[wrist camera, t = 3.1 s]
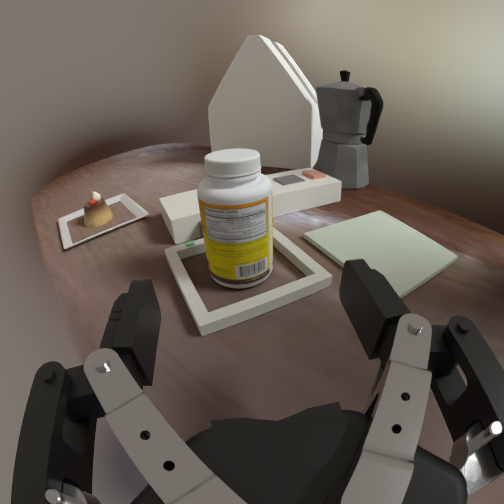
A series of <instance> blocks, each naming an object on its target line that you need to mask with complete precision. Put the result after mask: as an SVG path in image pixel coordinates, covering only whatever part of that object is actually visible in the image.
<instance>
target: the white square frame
mask: <svg viewBox="0 0 504 504" xmlns="http://www.w3.org/2000/svg"><path fill="white" fill-rule="evenodd" d="M273 246H274V247H275V248H276V249H278V250H279V251H280V252H281V253H282V254H283V255H284V256H285V257H286V258H287V259H289V260H290V261H291V262H292V263H293V264H294V265H295V266H296V267H297V268H298V269H299V270H301V271H302V272H303V273H304V274H305V275H306V276H307V277H304V278H302V279H299V280H297V281H294V282H291V283H289V284H286V285H283V286H281V287H278V288H275V289H273V290H270V291H267V292H265V293H262V294H259V295H256V296H254V297H251V298H248V299H245V300H243V301H240V302H237V303H234V304H231V305H228V306H226V307H223V308H220V309H217V310H214V311H211V312H208V311H207V309H206V307H205V306H204V304H203V302H202V300H201V298H200V296H199V294H198V293H197V291H196V289H195V287H194V285H193V283H192V281H191V279H190V277H189V275H188V274H187V272H186V270H185V268H184V266H183V264H182V262H181V259H184V258H187V257H191V256H194V255H197V254H201V253H204V252H206V250H205V243H204V238H202V239H198V240H195V241H193V240H192V241H188V242H185V243H184V244H181V245H177V246H174V247H170V248H167V249H164V252H165V256H166V259H167V262H168V264H169V266H170V269H171V271H172V273H173V275H174V278H175V280H176V282H177V285H178V287H179V289H180V291H181V293H182V296H183V298H184V300H185V302H186V304H187V307H188V309H189V311H190V313H191V315H192V317H193V319H194V321H195V323H196V326H197V328H198V330H199V332H200V334H201V336H205V335H207V334H210V333H213V332H216V331H219V330H221V329H224V328H227V327H230V326H232V325H235V324H238V323H240V322H243V321H246V320H248V319H251V318H253V317H256V316H259V315H261V314H264V313H266V312H269V311H271V310H274V309H276V308H279V307H281V306H284V305H286V304H289V303H291V302H294V301H296V300H298V299H301V298H303V297H306V296H308V295H310V294H313V293H315V292H317V291H320V290H322V289H324V288H327V287H329V286H331V283H332V275H331V274H330V273H329V272H327V271H326V270H325V269H324V268H323V267H321V266H320V265H319V264H318V263H317V262H315V261H314V260H313V259H312V258H311V257H309V256H308V255H307V254H306V253H305V252H303V251H302V250H301V249H300V248H298V247H297V246H296V245H295V244H294V243H292V242H291V241H290V240H289V239H287V238H286V237H285V236H284V235H282V234H281V233H280V232H279V231H278V230H276V229H275V228H274V227H273Z"/></svg>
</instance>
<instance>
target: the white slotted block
mask: <svg viewBox="0 0 504 504" xmlns="http://www.w3.org/2000/svg"><path fill="white" fill-rule="evenodd" d="M208 115H209V128H210V140H211V152H215V151H219V150H225V149H237V148H240V149H251V150H255V151H258V152H259V154H260V165H261V166H265V167H278V168H290V169H304V168H312V167H313V166H314V164H315V163H316V161H317V159H318V155H319V150H320V144H321V140H322V131H323V129H322V128H321V123H320V116H319V109H318V102H317V95H316V92H315V90H314V89H313V87H312V86H311V84H310V83H309V81H308V80H307V78H306V77H305V76H304V74H303V73H302V71H301V70H300V68H299V67H298V66H297V65H296V63H295V62H294V60H293V59H292V58H291V56H290V55H289V54H288V52H287V51H286V50H285V48H284V47H283V46H282V45H281V44H278V43H276V42H271V41H270V40H269V39H268V38H265V37H263V36H261V35H248V36H247V38H246V39H245V41H244V43H243V44H242V46H241V48H240V50H239V51H238V53H237V55H236V56H235V58H234V60H233V62H232V63H231V65H230V67H229V69H228V71H227V72H226V74H225V76H224V78H223V80H222V81H221V83H220V85H219V87H218V89H217V91H216V93H215V95H214V97H213V99H212V101H211V103H210V105H209V106H208Z"/></svg>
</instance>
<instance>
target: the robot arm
mask: <svg viewBox="0 0 504 504" xmlns="http://www.w3.org/2000/svg"><path fill="white" fill-rule="evenodd" d="M340 300H341V303H342V305H343V307H344V309H345V311H346V313H347V315H348V317H349V319H350V321H351V323H352V325H353V327H354V329H355V331H356V333H357V335H358V337H359V339H360V341H361V343H362V345H363V348H364V350H365V352H366V354H367V356H368V358H369V360H371V359H375V358H379V359H380V361H381V363H380V365H379V368H378V371H377V374H376V377H375V380H374V383H373V386H372V389H371V392H370V395H369V397H368V400H367V403H366V405H365V407H364V409H363V411H362V413H360V412H356V411H351V410H341V407H340V404H339V402H336V403H332V404H328V405H323V406H318V407H313V408H309V409H306V410H304V411H302V412H299V413H297V414H295V415H292V416H290V417H287V418H285V419H282V420H279V421H270V420H259V419H250V418H236V419H224V420H212V428H211V429H207V430H205V431H202V432H200V433H198V434H196V435H194V436H193V437H191V438H190V439H188V440H187V441H186V442H184V441H183V440H182V439H181V438H180V437H179V435H178V434H177V433H176V432H175V431H174V430H173V428H172V427H171V426H170V425H169V424H168V422H167V421H166V420H165V419H164V417H163V416H162V415H161V414H160V412H159V411H158V410H157V408H156V407H155V406H154V405H153V403H152V402H151V401H150V399H149V398H148V397H147V395H146V394H145V393H144V392H143V391H142V390H143V386H152V382H153V373H154V365H155V358H156V350H157V343H158V336H159V330H160V323H161V312H160V307H159V304H158V301H157V297H156V294H155V291H154V287H153V284H152V281H151V280H150V279H144V280H133V281H132V282H131V285H130V288H129V291H128V293H122V294H121V295H120V296H119V297H118V299H117V300H116V301H115V302H114V305H113V308H112V311H111V313H110V316H109V321H108V322H107V326H106V329H105V332H104V335H103V338H102V341H101V345H100V348H99V349H98V350H96V351H94V352H92V353H91V354H90V355H89V356H88V357H87V359H86V360H85V363H84V365H81V366H77V367H73V368H69V369H64V367H63V366H62V365H61V364H60V363H58V362H55V361H52V362H48V363H45V364H44V365H42V366H41V367H40V368H39V369H38V371H37V373H36V375H35V378H34V381H33V384H32V388H31V391H30V395H29V398H28V402H27V406H26V410H25V414H24V418H23V422H22V427H21V431H20V436H19V441H18V447H17V453H16V460H15V466H14V474H13V483H12V494H11V504H101V503H100V502H99V500H98V499H97V498H96V497H95V496H93V495H92V473H93V471H92V470H93V455H94V442H95V432H96V422H97V418H100V417H106V420H107V422H108V423H109V425H110V427H111V428H112V430H113V432H114V433H115V435H116V437H117V438H118V440H119V441H120V443H121V445H122V446H123V448H124V449H125V451H126V452H127V454H128V455H129V457H130V458H131V460H132V461H133V462H134V464H135V465H136V467H137V468H138V469H139V471H140V472H141V473H142V475H143V476H144V478H145V479H146V480H147V482H148V483H149V484H148V485H147V486H146V487H145V488H144V490H143V491H142V492H141V493H140V494H139V495H138V496H137V497H136V498H135V499H134V501H133V502H132V503H131V504H466V503H467V497H468V496H469V495H471V494H472V493H474V492H475V491H477V490H479V489H480V488H482V487H483V486H485V485H486V484H488V483H490V482H492V481H494V480H496V479H498V478H499V477H501V476H503V475H504V371H503V369H502V367H501V365H500V364H499V362H498V360H497V359H496V357H495V355H494V354H493V352H492V351H491V349H490V348H489V346H488V344H487V343H486V341H485V340H484V338H483V337H482V335H481V334H480V332H479V331H478V329H477V328H476V326H475V325H474V324H473V322H472V321H470V320H469V319H468V318H466V317H463V316H454V317H452V318H451V319H450V320H449V322H448V324H447V326H440V325H430V323H429V322H428V321H427V320H426V319H425V318H424V317H422V316H420V315H418V314H412V313H410V311H409V310H408V308H407V307H406V305H405V304H404V303H403V301H402V300H401V298H400V297H399V295H398V294H397V293H396V291H394V289H393V287H392V286H391V285H390V283H389V282H388V280H387V279H386V278H385V276H384V275H383V274H381V273H380V272H378V271H377V270H376V269H371V268H370V267H369V266H368V264H367V263H366V262H365V260H364V259H355V260H346V261H345V263H344V267H343V273H342V279H341V284H340ZM458 364H459V365H460V367H461V369H462V370H463V372H464V374H465V376H466V378H467V387H466V385H465V383H464V381H463V379H462V377H461V375H460V373H459V371H458V370H457V368H456V366H457V365H458ZM430 387H431V389H432V391H433V394H434V396H435V398H436V400H437V403H438V405H439V407H440V410H441V412H442V414H443V417H444V419H445V422H446V424H447V426H448V429H449V431H450V434H451V437H452V439H453V442H454V444H453V446H452V454H451V456H450V459H449V460H450V463H449V462H447V461H445V460H443V459H441V458H439V457H438V456H436V455H434V454H432V453H430V452H429V451H427V450H425V449H423V448H422V447H420V446H418V445H417V444H418V440H419V436H420V432H421V428H422V424H423V420H424V415H425V411H426V406H427V401H428V395H429V390H430Z"/></svg>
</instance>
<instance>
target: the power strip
mask: <svg viewBox="0 0 504 504" xmlns="http://www.w3.org/2000/svg"><path fill="white" fill-rule="evenodd" d="M265 176H267V177H268V178H269V180H270V181H271V183H272V205H273V218H275V217H279V216H282V215H286V214H290V213H294V212H298V211H302V210H306V209H310V208H314V207H318V206H322V205H326V204H330V203H334V202H338V201H340V197H341V185H342V181H340V180H338V179H335V178H333V177H331V176H329V175H326V174H324V173H322V172H319V171H317V170H315V169H312V168H304V169H297V170H291V171H286V172H280V173H274V174H269V175H265ZM159 201H160V206H161V211H162V216H163V220H164V222H165V224H166V226H167V228H168V230H169V232H170V234H171V236H172V238H173V240H174V242H175V244H180V243H183V242H187V241H190V240H194V239H197V238H203V230H202V224H201V217H200V211H199V203H198V197H197V189H196V190H192V191H188V192H184V193H179V194H175V195H171V196H167V197H163V198H159Z"/></svg>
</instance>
